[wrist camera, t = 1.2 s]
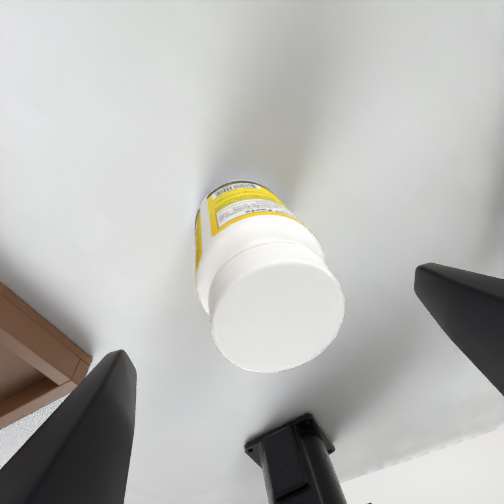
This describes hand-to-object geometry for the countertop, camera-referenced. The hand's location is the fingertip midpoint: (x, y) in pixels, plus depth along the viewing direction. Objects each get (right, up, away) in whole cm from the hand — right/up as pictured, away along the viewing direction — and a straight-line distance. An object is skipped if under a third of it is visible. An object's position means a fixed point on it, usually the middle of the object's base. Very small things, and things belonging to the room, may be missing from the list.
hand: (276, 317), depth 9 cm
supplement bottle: (-1, +4, +7) cm, 8 cm away
